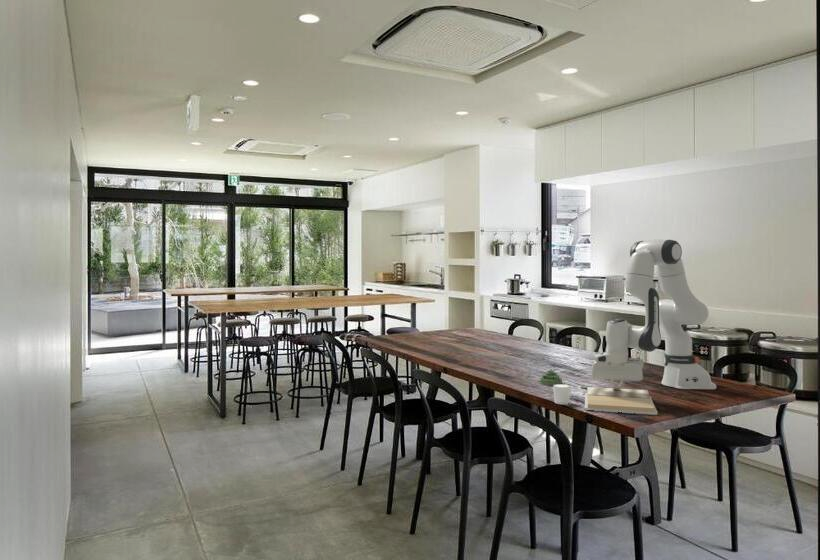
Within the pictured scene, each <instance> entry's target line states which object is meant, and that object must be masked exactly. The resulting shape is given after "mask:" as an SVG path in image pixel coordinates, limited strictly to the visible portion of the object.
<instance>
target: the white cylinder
mask: <svg viewBox="0 0 820 560" xmlns="http://www.w3.org/2000/svg"><path fill="white" fill-rule="evenodd" d="M552 387H553V388H552V389H553V397H554V403H555V404H557V405H569V404H570V396H571V385H569V384H564V383H562V384H556V385H553V386H552ZM568 403H569V404H568Z"/></svg>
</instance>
